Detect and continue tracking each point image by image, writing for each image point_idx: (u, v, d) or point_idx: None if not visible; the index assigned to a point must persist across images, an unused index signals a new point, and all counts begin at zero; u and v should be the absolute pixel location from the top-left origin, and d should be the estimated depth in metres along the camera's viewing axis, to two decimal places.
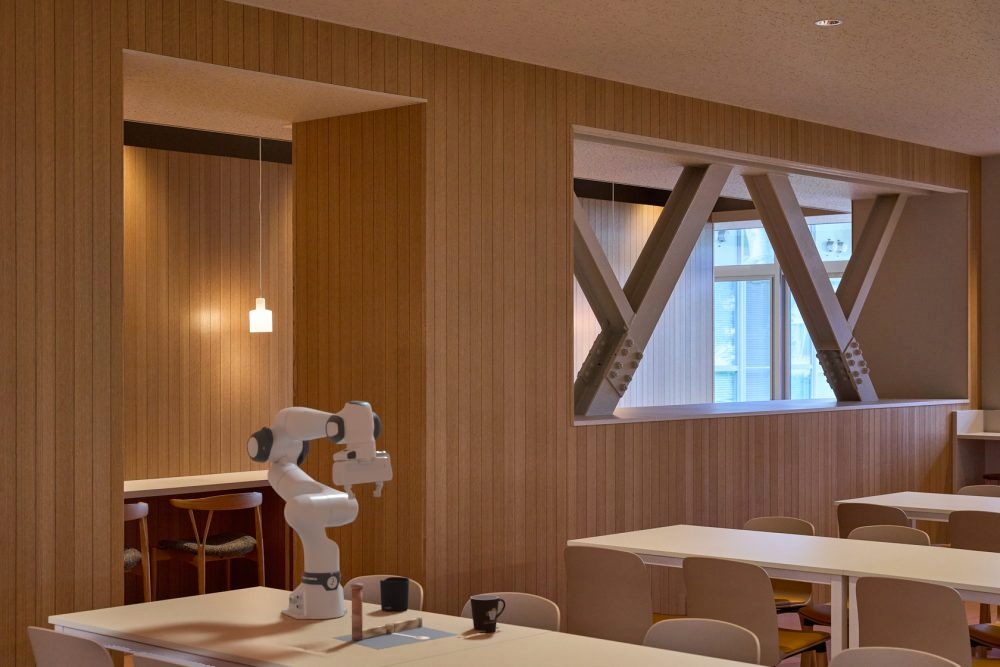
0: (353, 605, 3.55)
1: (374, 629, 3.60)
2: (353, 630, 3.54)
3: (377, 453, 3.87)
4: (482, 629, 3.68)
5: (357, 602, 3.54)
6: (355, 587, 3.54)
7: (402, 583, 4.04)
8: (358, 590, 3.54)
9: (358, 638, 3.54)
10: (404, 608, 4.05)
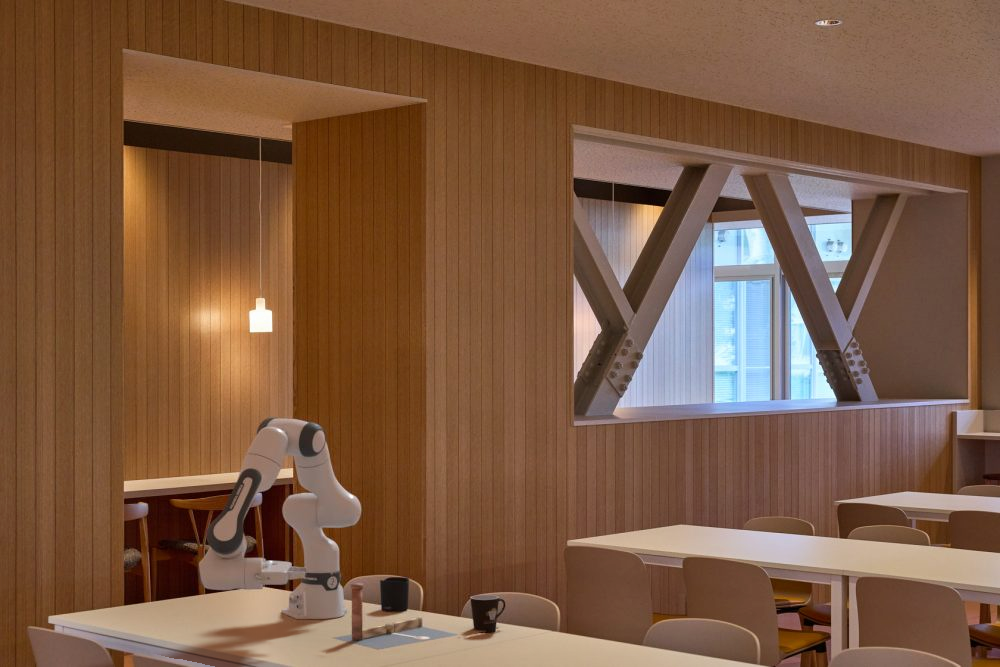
0: (353, 605, 3.55)
1: (374, 629, 3.60)
2: (353, 630, 3.54)
3: None
4: (482, 629, 3.68)
5: (357, 602, 3.54)
6: (355, 587, 3.54)
7: (402, 583, 4.04)
8: (358, 590, 3.54)
9: (358, 638, 3.54)
10: (404, 608, 4.05)
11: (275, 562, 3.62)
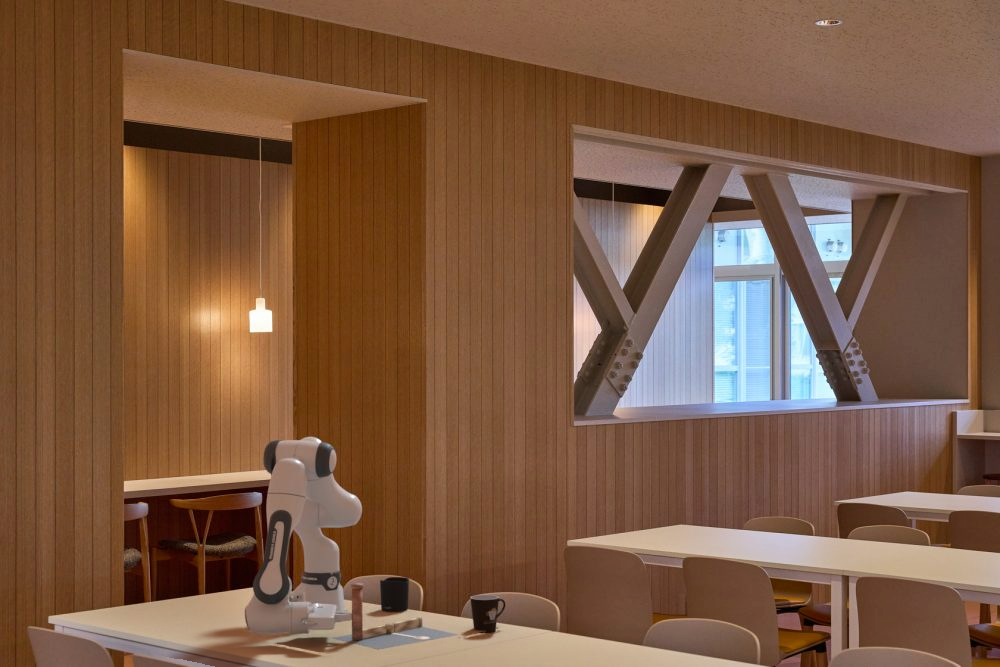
0: (353, 605, 3.55)
1: (374, 630, 3.60)
2: (353, 630, 3.54)
3: None
4: (482, 629, 3.68)
5: (357, 602, 3.54)
6: (355, 587, 3.54)
7: (402, 583, 4.04)
8: (358, 590, 3.54)
9: (358, 638, 3.54)
10: (404, 608, 4.05)
11: (320, 605, 3.63)
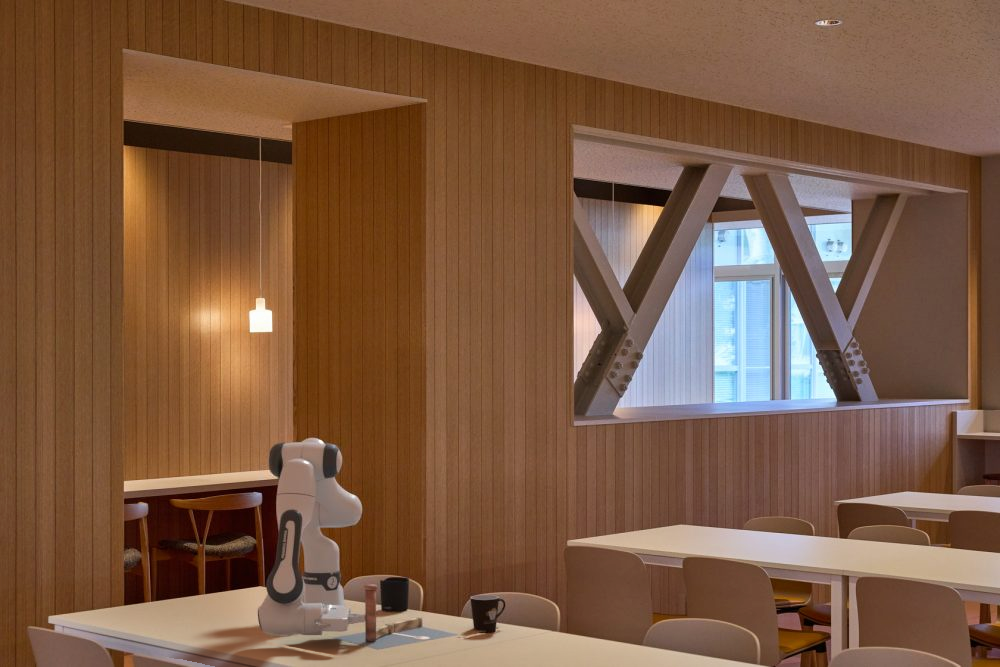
0: (368, 606, 3.52)
1: (381, 630, 3.59)
2: (368, 632, 3.52)
3: None
4: (482, 629, 3.68)
5: (373, 604, 3.52)
6: (371, 588, 3.52)
7: (402, 583, 4.04)
8: (373, 591, 3.52)
9: (373, 639, 3.52)
10: (404, 608, 4.05)
11: (334, 606, 3.60)
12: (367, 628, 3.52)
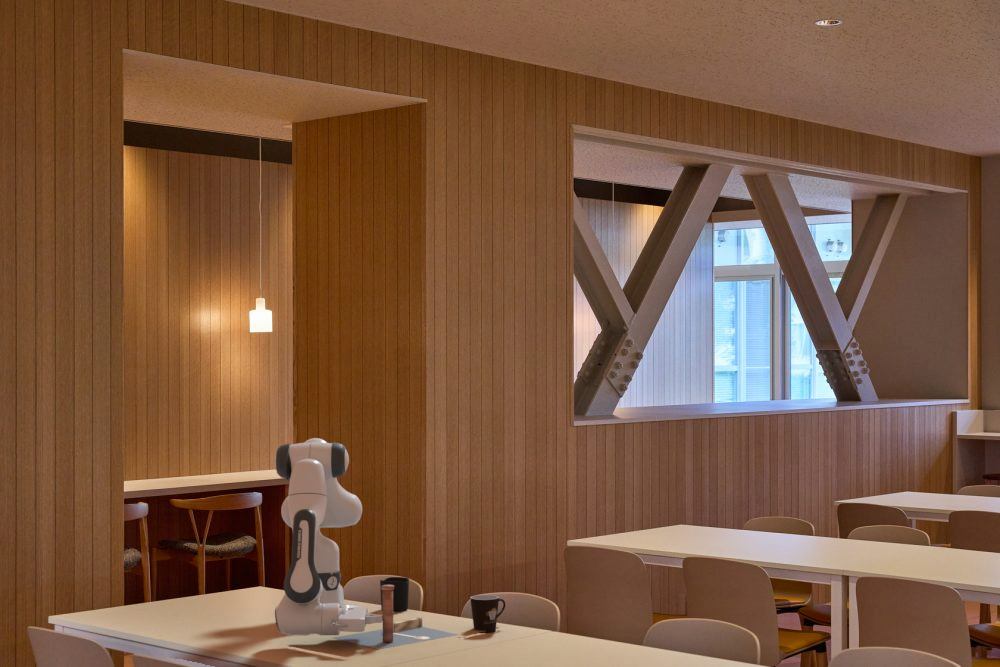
0: (387, 607, 3.51)
1: None
2: (387, 632, 3.51)
3: None
4: (482, 629, 3.68)
5: (392, 604, 3.52)
6: (391, 588, 3.51)
7: (402, 583, 4.04)
8: (392, 591, 3.52)
9: (392, 639, 3.52)
10: (404, 608, 4.05)
11: (351, 607, 3.59)
12: (386, 628, 3.51)
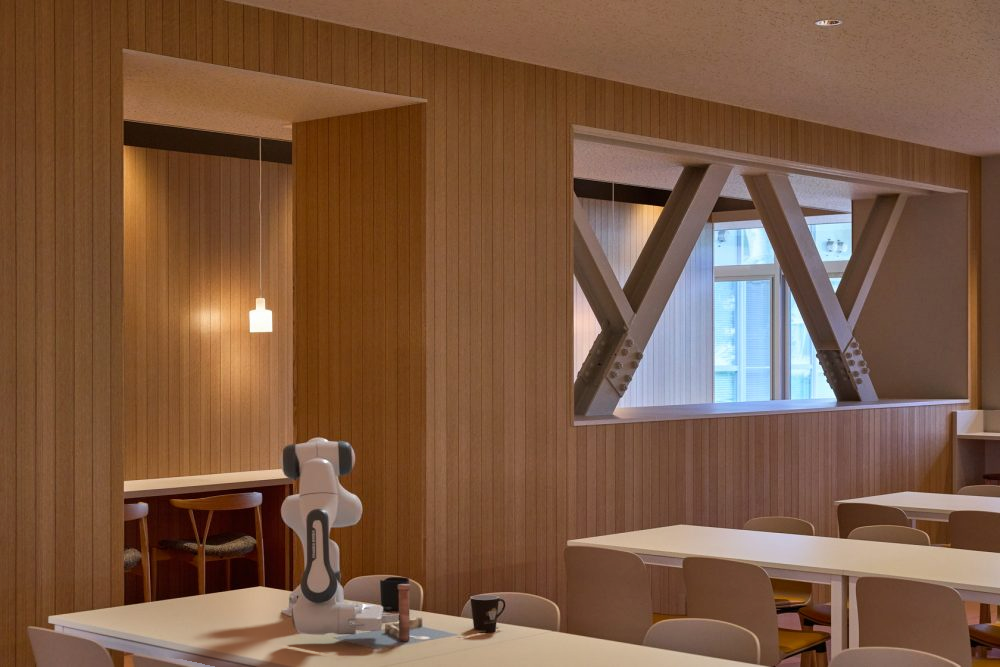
0: (406, 606, 3.52)
1: None
2: (406, 631, 3.52)
3: None
4: (482, 629, 3.68)
5: None
6: (409, 587, 3.53)
7: (402, 583, 4.04)
8: None
9: (409, 638, 3.53)
10: None
11: (367, 606, 3.60)
12: (404, 628, 3.52)
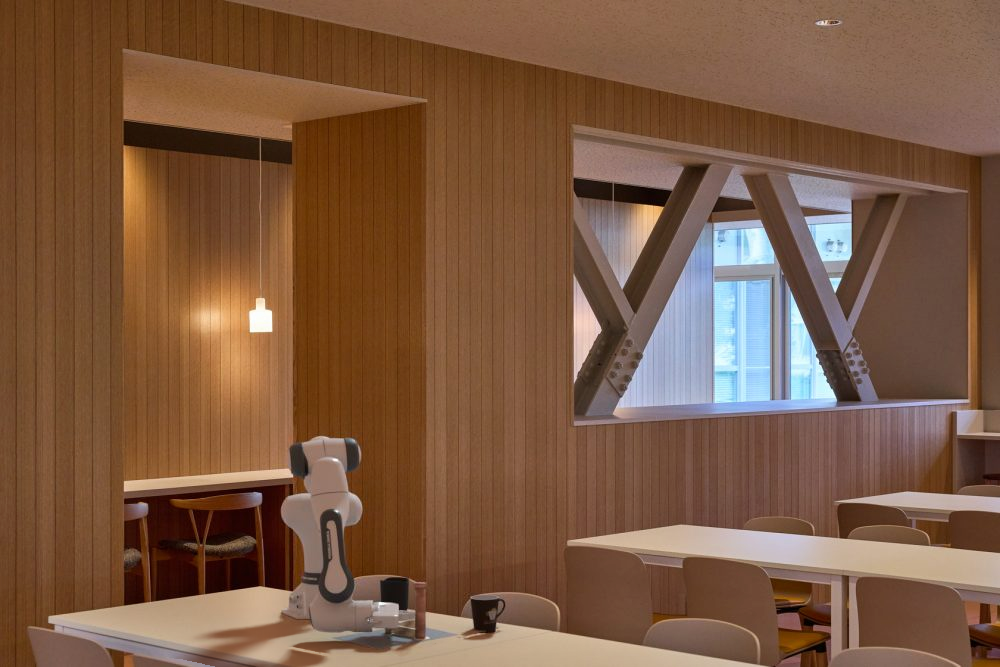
0: (424, 604, 3.56)
1: None
2: (424, 628, 3.56)
3: None
4: (482, 629, 3.68)
5: (425, 600, 3.57)
6: (426, 585, 3.57)
7: (402, 583, 4.04)
8: None
9: None
10: (404, 608, 4.05)
11: (382, 604, 3.64)
12: (423, 625, 3.55)
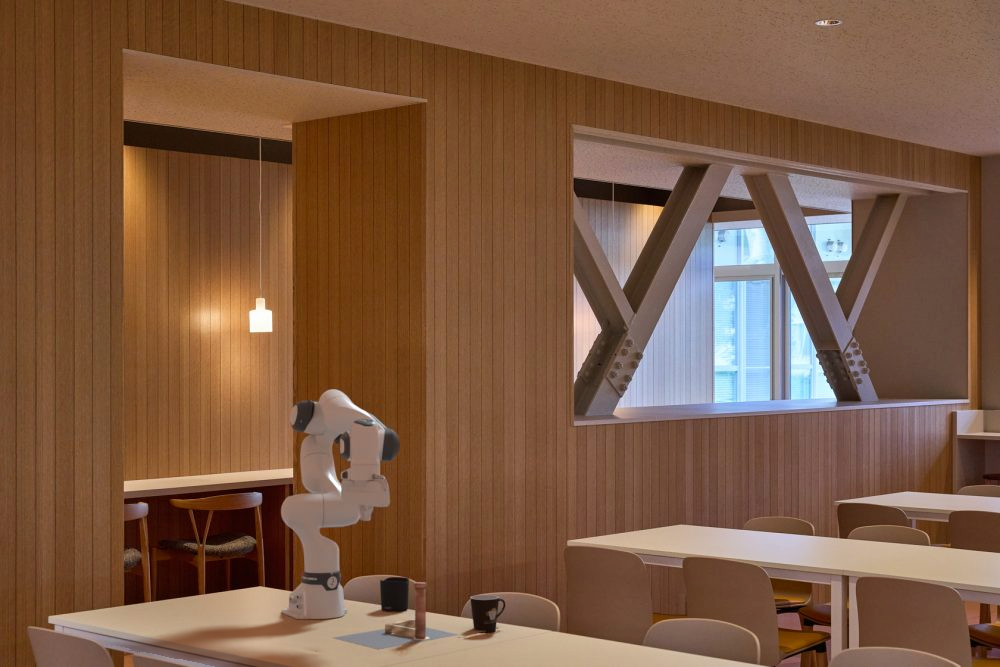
0: (424, 604, 3.56)
1: None
2: (424, 628, 3.56)
3: (375, 476, 3.68)
4: (482, 629, 3.68)
5: (425, 600, 3.57)
6: (426, 585, 3.57)
7: (402, 583, 4.04)
8: None
9: None
10: (404, 608, 4.05)
11: None
12: (423, 625, 3.55)
